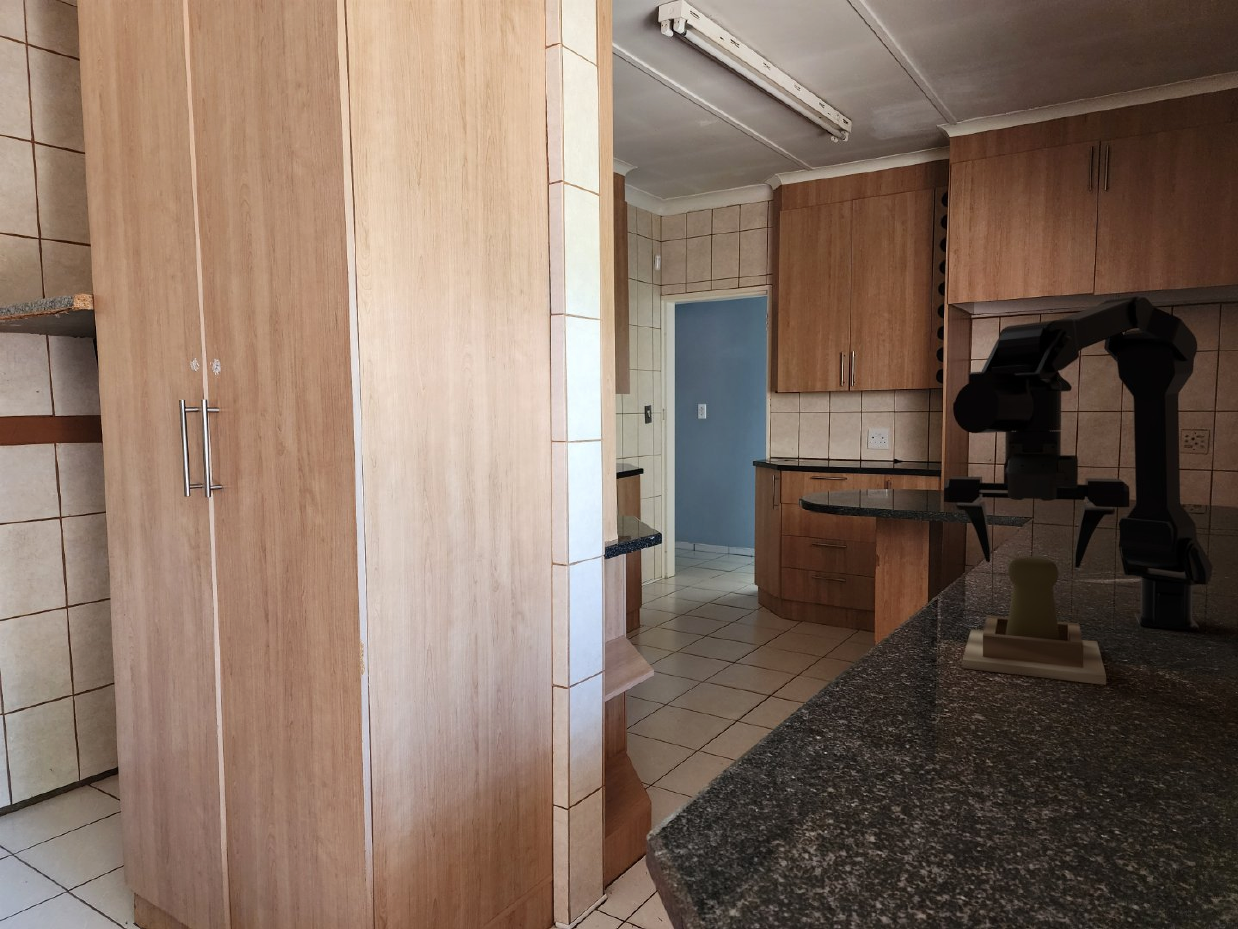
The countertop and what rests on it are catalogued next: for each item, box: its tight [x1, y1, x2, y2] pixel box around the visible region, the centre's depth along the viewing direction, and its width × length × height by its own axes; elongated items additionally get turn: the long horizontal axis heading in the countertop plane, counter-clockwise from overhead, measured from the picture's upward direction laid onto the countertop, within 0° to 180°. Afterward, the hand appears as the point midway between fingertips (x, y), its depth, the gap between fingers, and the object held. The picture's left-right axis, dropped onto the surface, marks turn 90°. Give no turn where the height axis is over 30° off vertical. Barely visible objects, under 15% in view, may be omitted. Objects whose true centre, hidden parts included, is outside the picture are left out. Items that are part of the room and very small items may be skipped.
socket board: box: [962, 615, 1107, 686], centre depth 92 cm, size 14×14×4 cm
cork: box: [1006, 556, 1060, 640], centre depth 92 cm, size 6×6×11 cm
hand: (1031, 564), depth 92 cm, fingers open, 9 cm apart
